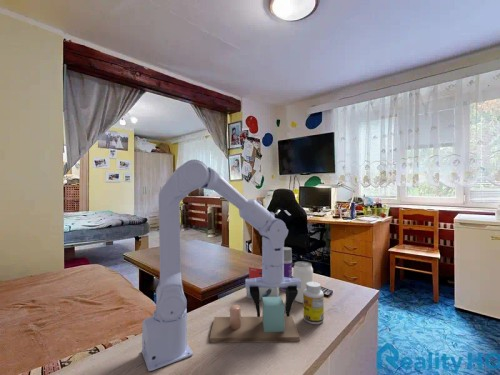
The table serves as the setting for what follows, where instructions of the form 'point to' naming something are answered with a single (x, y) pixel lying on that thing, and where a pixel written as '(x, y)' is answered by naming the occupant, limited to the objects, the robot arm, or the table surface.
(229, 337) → the board
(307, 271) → the can
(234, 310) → the round post
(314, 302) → the supplement bottle
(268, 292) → the ink cartridge box
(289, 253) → the container
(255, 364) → the table surface
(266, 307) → the teal rectangular block
